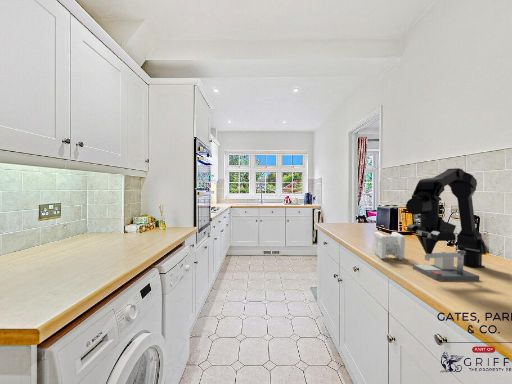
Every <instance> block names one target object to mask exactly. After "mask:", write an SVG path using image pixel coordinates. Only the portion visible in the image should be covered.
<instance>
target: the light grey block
mask: <svg viewBox="0 0 512 384" xmlns="http://www.w3.org/2000/svg"><path fill="white" fill-rule="evenodd" d="M440 253H447V251H440ZM433 259H434V261H433V263H434V264H433V265H434V266H436V267H439V268H441V269H454V266H455V265H454V264H455V257H447V258H433Z"/></svg>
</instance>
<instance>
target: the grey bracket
mask: <svg viewBox="0 0 512 384" xmlns="http://www.w3.org/2000/svg"><path fill="white" fill-rule="evenodd" d="M465 253H466V251H464V250H458V249H455V252H451V251H450V252H446V253H441V252H432V253H427V255H426V254H425V255H424V260H425V261H428V262H429V261H430V260H431V259H434V258H447V257H454V258H456V259H457V261H456V262H457V263H456V264H457V265H456V267H457V273H458V274H463V270H464V265H463V262H464V254H465Z"/></svg>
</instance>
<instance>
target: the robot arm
mask: <svg viewBox="0 0 512 384" xmlns="http://www.w3.org/2000/svg"><path fill="white" fill-rule="evenodd" d="M446 186H448V187H449V188H450V190H451V194H452V195H454V197H455V198H456V199H457V206H458V207H457V208H458V213H459V222H460V231H459V232H458V234H457V235H456V234H455V231H456V228H457V225H455V224H453V223H450V222H448V221H445V220H444V219H443V216H440V201H442V197H440V196H441V194H442V193H443V192H444V191H445V189H446V188H445V187H446ZM477 186H478V182H477V179H476V178H475V177H474V175H473V174H470V173H469V172H466V171H464V170H463V168H461V167H458V168H446V170H445V171H443V172H441V173H439V174H438V175H435V176H434V177H428V178H423V179H422V178H421V179H420V180H419V181H418V182H417V184H416V186H415V188H414V191H413V193H412V194H411V198H410V199H408V201H406V204H405V208H406V211H407V212H408V213H409V214H411V215H414V216H416V215H417V218H418V219H419V223H418V224H417V223H416V224H415V223H414V224H408V225H407V226H406V231H407V232H409V233H413V232H417V234H415V237H416V238H417V239H418V241H419V243H420V244H421V247H422V249H423V251H424V252H425V255H427V253H433V251H434V248H435V247H436V245H437V243H438V242H456V244H457V250H464V251H466V253H465V254H464V262H463V266H466V267H469V268H486V266H485V265H483V262H482V261H483V255H487V252H488V248H487V246H486V244H485V242H484V239H483V237H482V236H483V235H482V233H480V231H479V230H478V229H477V228H476V227H477V226H476V221H475V220H476V219H475V213H474V203H473V195H474V193H475V192H476V191H477Z"/></svg>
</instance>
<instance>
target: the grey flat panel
mask: <svg viewBox="0 0 512 384" xmlns="http://www.w3.org/2000/svg"><path fill="white" fill-rule="evenodd" d="M412 269H413V270H415V271H416V272H419V273H421V274H423V275H424V276H426V277H429V278H430V279H433V280H435V281H480V276H479V275H478V274H475V273H472V272H470V271H467V270H465V269H463V274H458V273H457V266H455V265H454V269H441V268H439V267H436V266H434V264H412Z"/></svg>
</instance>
